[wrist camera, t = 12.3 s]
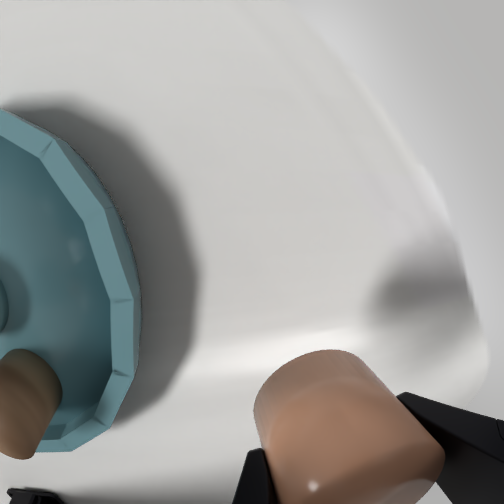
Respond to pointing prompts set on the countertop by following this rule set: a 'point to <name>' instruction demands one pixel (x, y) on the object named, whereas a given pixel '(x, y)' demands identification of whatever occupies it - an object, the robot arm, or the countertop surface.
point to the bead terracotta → (341, 435)
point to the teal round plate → (66, 279)
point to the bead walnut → (26, 402)
